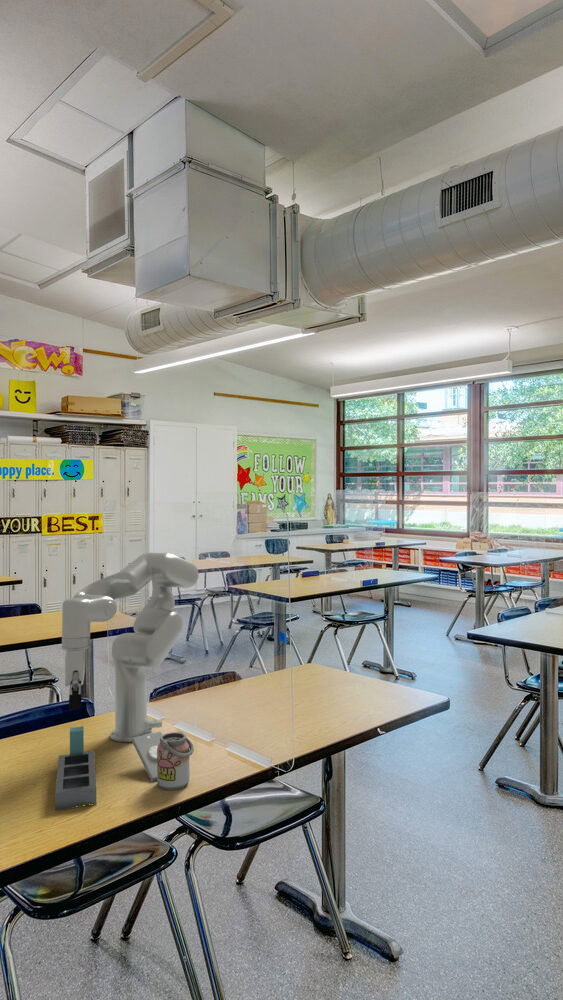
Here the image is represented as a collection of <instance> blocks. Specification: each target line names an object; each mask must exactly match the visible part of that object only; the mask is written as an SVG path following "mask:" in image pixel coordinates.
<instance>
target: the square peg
mask: <svg viewBox="0 0 563 1000" xmlns="http://www.w3.org/2000/svg"><path fill="white" fill-rule="evenodd" d="M84 727H85V726H83V725H82V726H81V725H80V726H74V727H73V726H72V727H69V754H76V753H84V751H85V750H84V749H85V748H84V743H85V741H84V730H85V729H84Z"/></svg>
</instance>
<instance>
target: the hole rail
mask: <svg viewBox="0 0 563 1000" xmlns="http://www.w3.org/2000/svg"><path fill="white" fill-rule="evenodd" d="M95 754H96V753H95V751H85V752H84V753H76V754H70V753H69V754H61V755H58V758H57V759H58V760H57V761H58V762H57V772H56V779H55V780H56V782H55V791H54V792H55V793H54V801H55V802H54V804H55V805H54V807H55V808H54V809H55V811H60V810H68V809H67V808H69V809H73V808H72V807H76V806H83V805H89V804H96V805H97V775H96V774H97V773H96V758H95ZM83 807H84V806H83ZM76 808H77V807H76Z"/></svg>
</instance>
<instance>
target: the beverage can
mask: <svg viewBox="0 0 563 1000" xmlns="http://www.w3.org/2000/svg"><path fill="white" fill-rule="evenodd" d="M194 748H195V747H194V744H193V742H192V741H191V740H190V739H189V738H188V737H187V735H186V734H185V733H184V732H183V731H178V732H168V733H165V734H162V736H161V737H160V743H159V745H158V747H157V780H156V783H157V785H158V786H159V787H160V788H161V789H163V790H166V791H175V790H176V791H177V790H179V789H180V790H181V789H183V788H185V787H186V786H188V784H189V782H190V756H192V755H193V754H194V751H195V749H194Z"/></svg>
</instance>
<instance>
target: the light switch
mask: <svg viewBox="0 0 563 1000" xmlns="http://www.w3.org/2000/svg"><path fill="white" fill-rule="evenodd" d="M162 735H163V733H162V732H161V731H156V732H152V734H147V735H143V736H139V737H135V738H133V739H132V742H131V743H132V744H133V746H134V748H135V750H136V753H137V755H138V757H139V759H140V760H141V761H140V762H141V763H142V765H143V767H144V769H145V771H146V773H147V775H148V777H149V779H150V781H151V782H157V747H158V745H159V743H160V737H161V736H162Z"/></svg>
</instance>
